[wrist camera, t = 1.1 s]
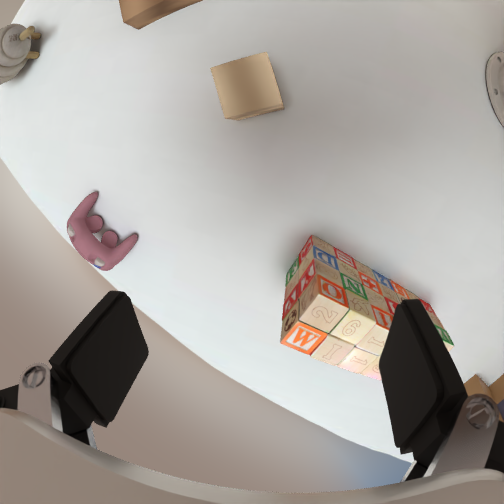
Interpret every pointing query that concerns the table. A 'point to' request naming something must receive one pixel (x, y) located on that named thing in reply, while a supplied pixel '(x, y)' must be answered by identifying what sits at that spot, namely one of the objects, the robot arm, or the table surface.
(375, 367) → the stack of blocks
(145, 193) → the table surface
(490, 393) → the toy building blocks
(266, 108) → the oak block
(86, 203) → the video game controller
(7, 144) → the table surface
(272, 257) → the table surface
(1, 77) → the toy sheep
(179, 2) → the base block
